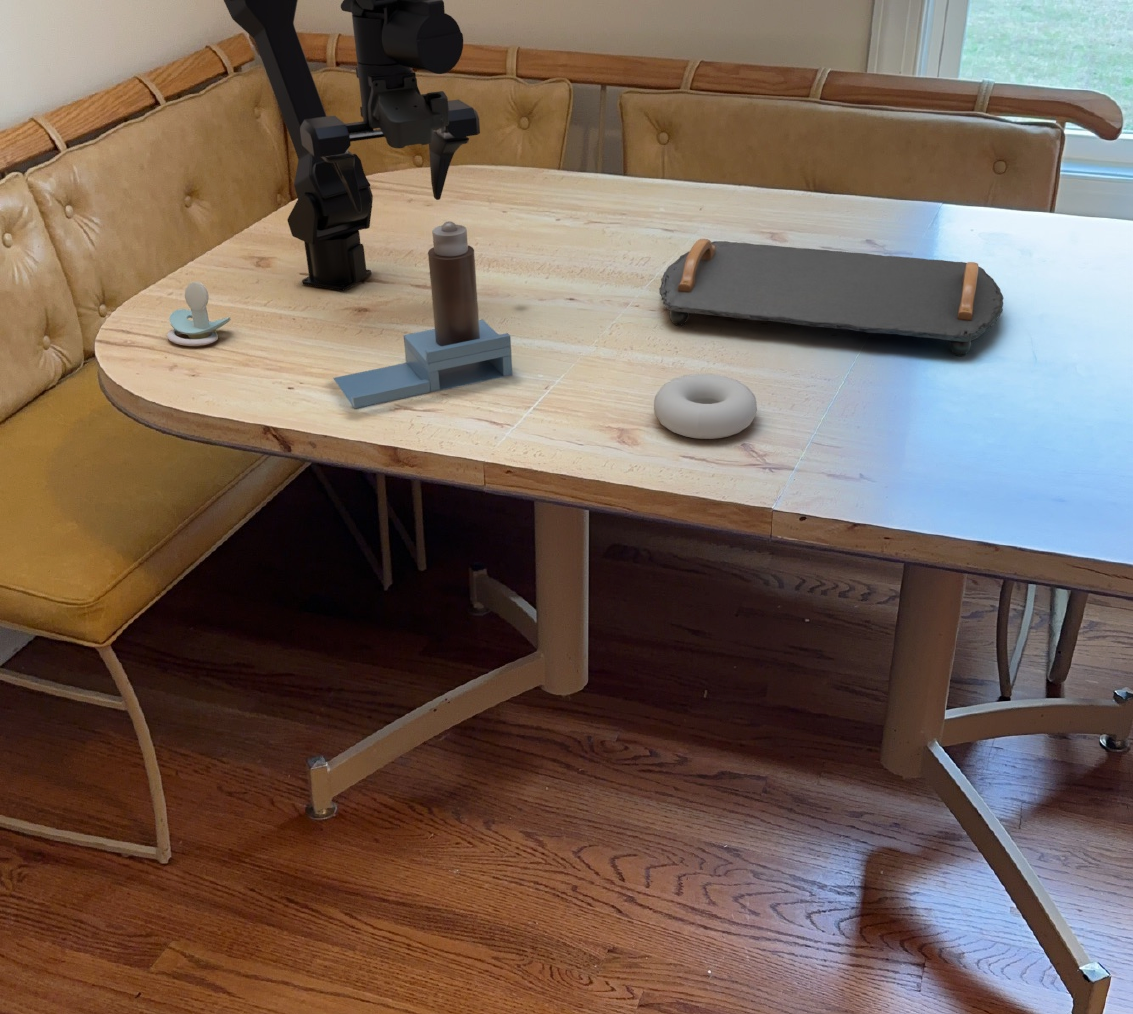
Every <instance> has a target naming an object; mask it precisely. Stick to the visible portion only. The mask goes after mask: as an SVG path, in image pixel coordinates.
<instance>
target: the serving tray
mask: <svg viewBox="0 0 1133 1014" xmlns="http://www.w3.org/2000/svg"><path fill="white" fill-rule="evenodd" d="M660 283H661V284H660V286H659V295H660V296H661V301H662V304H663V306H664V307H665V308H666V309H667V310H668V311H670V312H669V319H670V320H671V322H672V324H673V325H674V326H684V325H685V324H686V322H687V321H688V320H689V314H696V315H697V314H698V315H706V316H714V317H723V318H725V317H726V318H733V319H742V320H749V321H763V322H774V323H775V322H776V323H777V322H778V323H784V324H791V325H796V326H797V325H798V326H805V327H806V326H807V327H811V328H827V329H835V330H836V329H838V330H848V331H853V332H854V331H855V332H862V333H863V332H864V333H867V334H887V335H899V336H905V337H908V336H909V337H915V338H925V339H936V340H942V341H943V340H944V341H950V343H949V347H950V350H951V351H952V354H953V355H954V356H957V357H965V356H966V355H967V353H968V352H969V351H970V350H971V347H972V341H973V340H976V339H977V338H979V337H980V336H982V334H984V333H985V332H987V331H988V330H989V329H991V328H992V327H993V325H995V324H996V323H997V320H998V318H999V317H1001V315H1002V314H1003V312H1004V311H1003V310H1004V309H1003V308H1004V295H1003V294H1002V292H1001V287H999V285H998V284H997V282H996V281H995V280H994V278H993V277H991V276H990V275H989V273H987V272H986V270H985V269H984V268H982V267H981V266H979V263H977V262H976V261H975V262H974V261H968V262H964V261H952V260H945V259H944V260H943V259H928V258H919V257H911V256H910V257H908V256H897V255H883V254H874V253H873V254H872V253H865V252H851V251H841V250H829V249H817V248H807V247H805V248H804V247H793V246H782V245H781V246H780V245H773V244H756V243H749V242H737V241H736V242H734V241H728V240H727V241H726V240H724V241H723V240H718V241H717V240H716V241H715V240H714V241H711V240H710V239H708V238H700V239H698V240H696V241H695V242H694V243H693V245H692V247H691V248H690V250H689V251H687V252H686V253H684V254H682V255H680V256H679V257H678V259H676V260H675V261H674V262H673V263H671V264H669V265H668V266H667V268H666V270H664V272H663V275H662V277H661V278H660Z"/></svg>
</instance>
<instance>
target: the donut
mask: <svg viewBox="0 0 1133 1014" xmlns="http://www.w3.org/2000/svg"><path fill="white" fill-rule="evenodd" d="M653 411H654V414H655V416H656V418H657V419H658V421H659V422H660V424H661V425H662V426H663V427H664V428H666V429H668V430H669V431H670V432H672V433H673V434H674V433H675V434H677V435H680V436H682V437H687V438H691V439H692V438H693V439H701V440H716V439H723V438H727V437H728V438H729V437H731V436H734V435H736V434H739V433H741V432H742V431H743V430H745V429H746V428H748V427H749V426H751V424H752V423H753V420H754V418H755V417H756V416H757V411H758V404H757V398H756V396H755V394H754V391H752V390H751V389H750V388H749V386H748V385H746V384H745V383H743V382H742V381H740V380H738V379H735V378H733V377H729V376H726V375H722V374H717V373H716V374H715V373H691V374H684V375H681V376H677V377H675V378H672V379H671V380H669V381H667V382H665V383H664V384H663V385H662V386H661V387H660V388H659V390H658V391H657V392H656V394H655V396H654V399H653Z"/></svg>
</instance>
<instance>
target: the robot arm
mask: <svg viewBox="0 0 1133 1014" xmlns="http://www.w3.org/2000/svg"><path fill="white" fill-rule="evenodd" d="M298 1H299V0H223V3H224V5H225V6H226V9H227V10H228V14H230V17H231V19H232V20H233V21H234V22H235V23H236V24H237V25H238V26H239V27H241V29H243V30H244V31H245V32H246V33H247V34H248V35H249V36H250V37H251V38H253V41H254V43H255V45H256V48H257V50H258V53H259V56H260V59H261V61H262V64H263V67H264V69H265V72H266V75H267V77H268V80H269V83H270V86H271V89H272V91H273V94H274V97H275V100H276V102H277V105H278V107H279V110H280V113H281V116H282V118H283V121H284V124H285V126H286V130H287V132H288V135H289V137H290V140H291V142H292V145H293V148H294V152H295V154H296V157H297V165H296V170H295V171H296V172H295V177H294V184H293V187H294V190H295V194H296V197H297V200H296V202H295V204H294V206H293V207H292V209H291V211H290V213H289V215H288V217H287V224H288V227H289V230H290V234H291V236H292V237H293V238H295V239H298V240H300V241H302V242H303V243H304V251H305V257H306V263H307V270H308V276H307V277H305V278H303V279H302V280H301V284H302V285H303V286H308V287H309V286H310V287H316V288H322V289H327V290H328V289H329V290H333V291H340V292H345V291H348V290H350V289H351V288H353V287H354V286H355V285H357V284H359V283H360V282H362V281H363V280H366V279H367V278H368V277H370V276H371V275H372V270H371V269H367V263H366V255H365V247H364V244H363V243H361V234H360V231H362V230H368V229H370V227H371V220H372V219H371V217H372V210H373V201H374V195H373V191H372V189H371V183H370V181H369V180H368V178H367V176H366V174H365V171H364V167H363V164H362V163H363V162H362V160H361V158H360V157H359V156H358V155H357V154H356V153H352V152H351V151H349V148H350V147H351V142H359V141H366V140H373V139H379V138H385V140H386V143H387V145H388V146H389V147H391V148H393V149H404V148H405V147H408V146H415V145H421V146H426V145H427V146H428V152H429V166H430V169H429V170H430V183H431V188H432V189H431V190H432V195H433V198H434V199H435V200H436V201H440V200H441V198H442V195H443V191H444V186H445V182H446V179H447V175H448V172H449V168H450V165H451V162H452V160H453V158H454V156H455V154H456V152H457V151H458V149H459V148H460V147H461V146H462V145H466V144H468V143H469V141H470V138H469V137H473V136H478V135H479V134H481V124H480V117H479V114H478V111H477V110H475V108H474V107H472V106H470V105H469V104H467V103H465V102H464V101H463V100H460V99H452V100H449V99H448V96H447V94H446V93H445V91H444V90H440V91H431V92H426V93H421V92H420V89H419V86H418V78H417V77H416V72H415V71H414V70H413V69H415V70H418V71H423V72H427V73H431V74H435V75H436V74H437V75H442V74H446V73H448V72H450V71H451V70H453V69H454V68H455V67H456V65H457V64H458V63H459V61H460V60H461V57H462V54H463V50H464V34H463V32H462V31H461V28H460V26H459V24H458V22H457V20H456V19H455V18H454V17H453V16H451V15H450V14H448V13H446V11H445V10H446V9H445V1H444V0H342V2H341V4H340V9H341V11H343V12H345V13H346V12H347V13H351V19H352V29H353V37H354V38H353V39H354V47H355V55H356V57H355V58H356V64H357V65H356V67H355V74H356V78H357V79H358V84H359V93H360V102H361V106H359V111H360V117H362V118H363V120H362V121H355V122H348V123H346V122H344V121H343V120H341V119H340V118H339V117H337V116H336V115H327V113H326V110H325V108H324V105H323V102H322V99H321V96H320V94H319V91H318V88H317V86H316V82H315V80H314V77H313V74H312V72H311V68H310V67H309V63H308V60H307V58H306V55H305V52H304V50H303V46H302V44H301V41H300V39H299V35H298V32H297V30H296V27H295V18H296V11H297V6H298Z"/></svg>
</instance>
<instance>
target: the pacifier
mask: <svg viewBox="0 0 1133 1014" xmlns="http://www.w3.org/2000/svg"><path fill="white" fill-rule="evenodd" d="M209 295H210V294H209V291H208V289H207V287H206V286H205V284H203V283H201V282H200V281H191V282H189V283H188V284H187V286H186V287H185V291H184V298H185V299H184V300H185V303H186V304H187V307H188V308H189V309H186V308H180V309H179V308H178V309H175V310H174V311H172V312H171V313H170V315H169V323H170V326H171V327H172V329H171V330H169V331H168V332H167V334H166V338H167V340H169V341H170V342H171V343H173V344H176V345H181V346H187V347H201V346H207V345H211V344H213V343H215V342H216V341H217V340H219V335H218V333H217V330H218V329H220V328H221V327H223V326H226V324H228V323H229V322H230V321H231V320H232V319H231V316H228V317H225V318H221V319H217V320H213V321H210V319H209V313H208V309H207V306H208V304H209V299H210V296H209ZM190 319H192V320H190ZM181 334H184V335H186V336H187V337H188V338H183V337H180V336H179V335H181Z"/></svg>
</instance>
